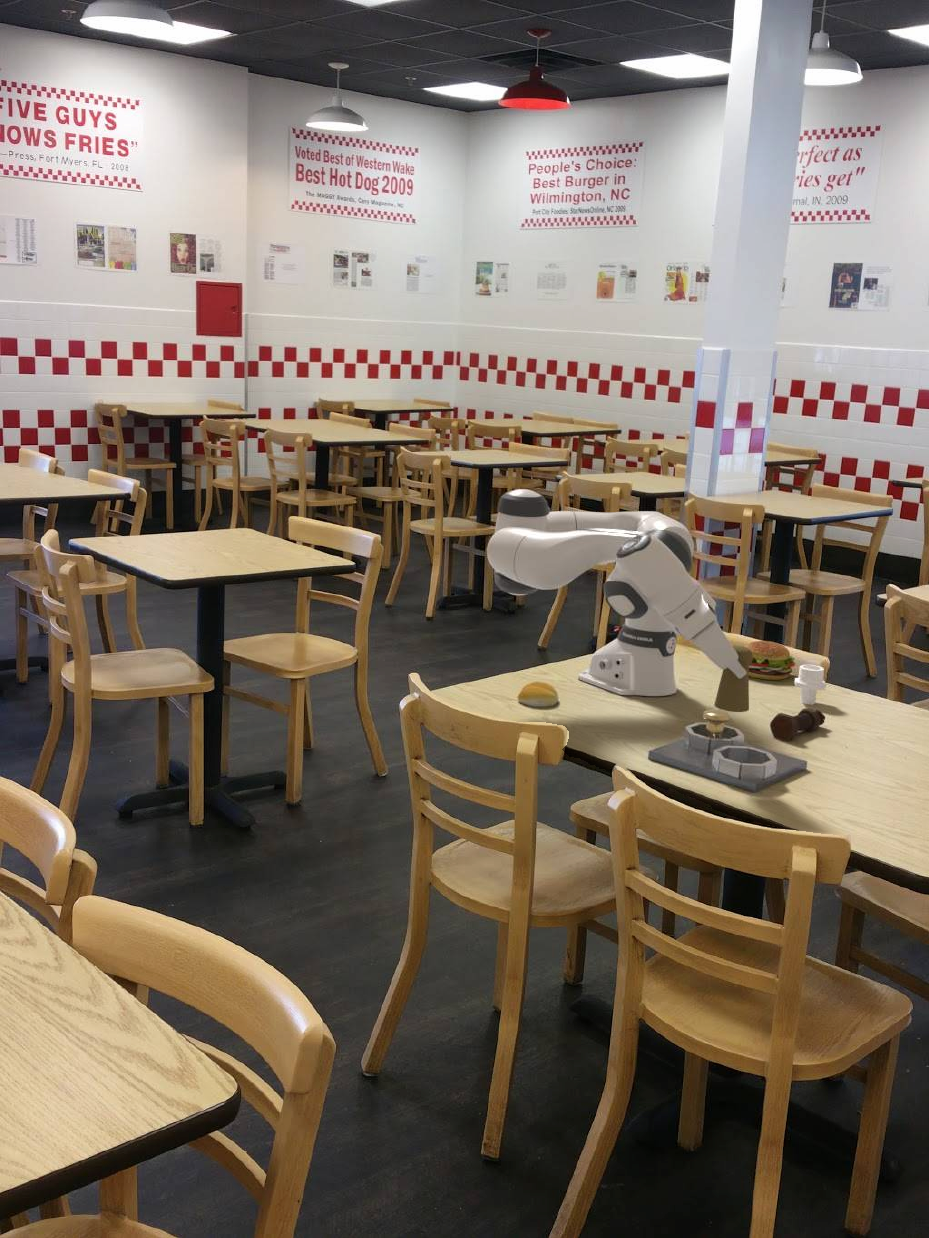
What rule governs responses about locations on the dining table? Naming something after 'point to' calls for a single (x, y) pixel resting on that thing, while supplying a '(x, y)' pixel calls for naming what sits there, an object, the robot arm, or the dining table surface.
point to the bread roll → (538, 695)
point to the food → (769, 661)
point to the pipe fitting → (810, 682)
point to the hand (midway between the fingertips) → (740, 670)
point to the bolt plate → (726, 755)
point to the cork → (735, 685)
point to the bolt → (795, 723)
